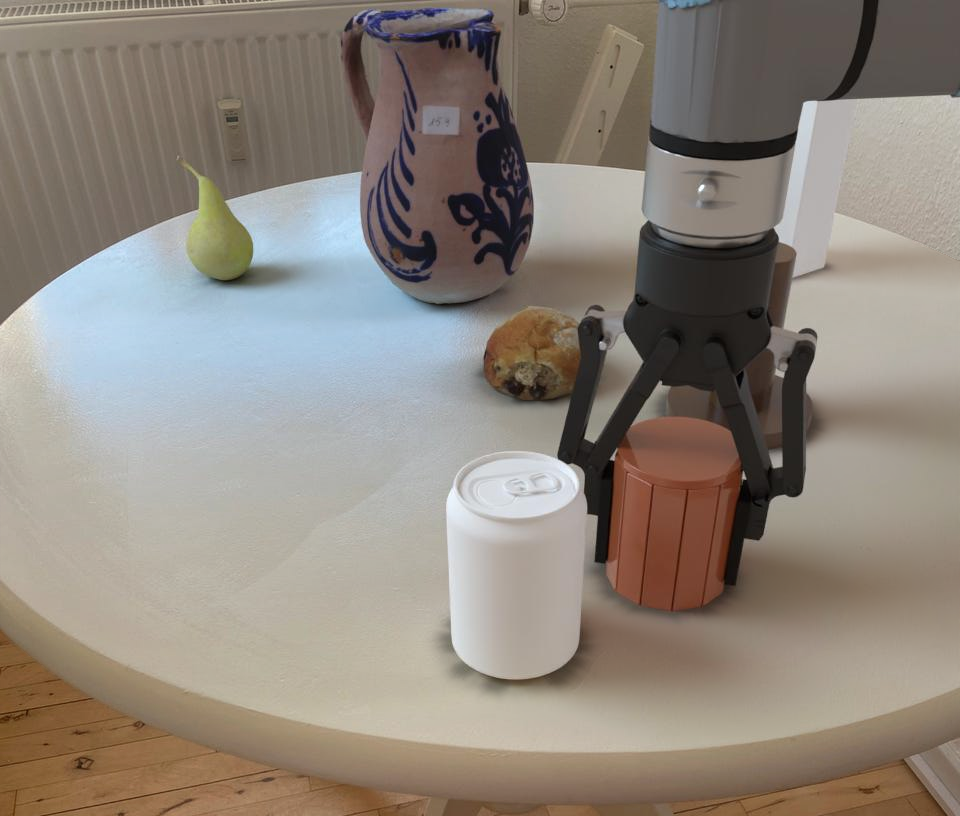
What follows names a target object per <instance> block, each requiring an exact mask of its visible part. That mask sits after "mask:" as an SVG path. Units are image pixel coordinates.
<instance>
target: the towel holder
mask: <svg viewBox="0 0 960 816" xmlns="http://www.w3.org/2000/svg"><path fill="white" fill-rule="evenodd" d="M796 256H797V253H796V251H795V249H794V248H792V247H791V246H789V245H787V244H784V243H781V242H779V243H778V249H777V254H776V260H775V266H774V272H773V278H772V284H771V290H770V295H769V301H768V311H769V315H770V317H771V319H772V323H773V326H775V327H778V328H782V329H785V328H784V327H785V322H786V316H787V311H788V306H789V300H790V299H789V298H790V294H791V289H792V283H793V279H794V278H793V272H794V267H795V261H796ZM745 370H746V373H747V377H748V386H749V390H750V393H751V396H752V399H753V403H754V406H755V409H756V413H757V416H758V419H759V423H760V426H761V429H762V432H763V436H764V439H765V442H766V446H767V449H768V450H772V449H777V448H782V384H783V379H784V377H783V376H779V375H777V374H776V372H777V368H776V367H775V365H774V354H773V353H772V351H771V350H769V349H767V348H766V349H765V350H763V351H762V352H761V353H760V354H759V355H758V356H757V357H756V358H755V359H754V360H753V361H752V362H751V363H750V364H749V365H748V366H747V367H746V368H745ZM669 387H670V388H669V390H668V391H667V397H666V405H665V416H666V417H689V418H696V419H701V420H705V421H709V422H712V423H715V424H718V425H720V426H722V427H724V428H726V429H728V430H730V427H729V424H728V420H727V417H726V414H725V411H724V409H723V408H721V406H720V403H719V400H718V397H717V393H716V390H714V392H711V391H703V390H699V389H697V388H694V387H691V386H688V385H686V386H677V387H672V386H669ZM813 411H814V404H813V401H812V398H811V397H810V395H809V394H808V393H807V392H806V433H807V432H808V430H809V428H810V425H811V420H812V415H813ZM730 431H731V430H730Z"/></svg>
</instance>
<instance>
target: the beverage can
mask: <svg viewBox="0 0 960 816" xmlns="http://www.w3.org/2000/svg"><path fill="white" fill-rule="evenodd" d="M448 493H449V494H447V495H448V496H447V499H446V503H445V505H446V506H445V515H446V539H447V563H448V565H447V566H448V584H449V585H448V586H449V607H450V608H449V609H450V611H449V612H450V633H451V644H452V647H453V649H454V652H455V653H456V654H457V656H458V657H459V658H460V659H461V661H462V662H464V663H465V664H466V665H467V666H468V667H470V668H471V669H473V670H474V671H477V672H478V673H481V674H484V675H485V676H490V677H493V678H498V679H502V680H504V679H505V680H529V679H534V678H539V677H542V676H545V675H548V674H551V673H552V672H553V673H554V672H555V671H557V670H559V669H561V668H562V667H563V666H565V665H566V664H567V663H568V662H569V661H570V660H571V659H572V658H573V657H574V655H575V654H576V652H577V650H578V648H579V644H580V638H581V637H580V636H581V635H580V634H581V620H582V619H581V618H582V604H583V602H582V601H583V584H584V571H585V570H584V569H585V551H586V535H587V519H588V514H587V501H586V497H585V494H584V489H583V488H582V487H581V483H580V478H579V476H578V475H577V473H576V471H575V470H574V469H573V468H572V467H571V466H570V465H569V464H568V465H567V464H565V463H564V462H562V461H560V460H558V458H557V457H556V458H555V457H554V456H551V455H548V454H544V453H540V452H535V451H526V450H525V451H524V450H509V451H500V452H494V453H490V454H486V455H483V456H480V457H477V458H475V459H472V460H471V461H469V462H468V463H466V464H465V465H464V466H463V467H461V469H459V471H458V472H457V474H456V476H455V478H454V481H453V485H452V487H451V489H450V491H449V492H448Z"/></svg>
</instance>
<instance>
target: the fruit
mask: <svg viewBox="0 0 960 816" xmlns="http://www.w3.org/2000/svg"><path fill="white" fill-rule="evenodd" d="M176 162H177V163H179V164H180V165H182V166H183V167H185V169H187V170H189V171H190V172H191V173H192V174H193V176H195V177H196V179H197V181H198V212H197V215H196V217H195V219H194V221H193V222H192V224H191V225H190V227H189V229H188V232H187V235H186V239H185V240H186V242H185V243H186V244H185V248H186V254H187V256H188V258H189V260H190V262H191V264H192V265H193V266H194V267H195V269H196V270H197V271H198V272H200V273H201V274H203V275H205V276H207V277H209V278H212V279H216V280H219V281H231V280H235V279H237V278H239V277H241V276H242V275H244V274H245V272H246V271H248V269H249V268H250V265H251V263H252V260H253V257H254V242H253V239H252V236H251V234H250V232H249V231H248V229H247V228H246V227H245V226H244V224H243V223H241V222H240V220H239V219H238V218H237V217H236V215H234V213H233V212H232V210H231V209H230V207H229V205H228V203H227V201H226V200H225V198H224V197H223V194H222V193H221V191H220V190H219V188H218V187H217V185H216V184H215V182H213V180H211V179H210V178H208V177H206V176H204V175H201V174H200V173H199V172H197V170H196V169H194V168H193V167H192V166H191V165H190V164H189V163H188V162H187V161H186V160H185V159H183V157H182V156H180V155H177V158H176Z"/></svg>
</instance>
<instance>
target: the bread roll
mask: <svg viewBox="0 0 960 816" xmlns="http://www.w3.org/2000/svg"><path fill="white" fill-rule="evenodd" d="M579 324H580V322H579V321H577V320H576V319H575V318H574V317H572V316H571V315H569V314H568V313H567V312H564V311H562V310H560V309H558V308H557V309H556V308H553V307H546V306H538V305H528V306H527V307H525V308H524V309H523V310H519V311H518V312H516V313H514V314H512V315H511V316H509V317H508V318H507V319H506V320H504V322H503V323H502V324H500V325H498V326H497V327H495V328H494V330H493V331H492V333H491V335H490V336H489V338H488V340H487V341H486V346H485V350H484V354H483V374H484V377H485V379H486V382H487V383H488V384H489V385H490V386H491V388H493V390H495V391H496V392H498V393H500V394H503V395H506V396H509V397H510V398H513V399H518V400H521V401H541V400H542V401H543V400H544V401H545V400H554V399H558V398H561V397H566V396H572V392H573V388H574V384H575V380H576V376H577V372H578V367H579V363H580V359H581V355H580V347H579V339H578V326H579Z"/></svg>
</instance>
